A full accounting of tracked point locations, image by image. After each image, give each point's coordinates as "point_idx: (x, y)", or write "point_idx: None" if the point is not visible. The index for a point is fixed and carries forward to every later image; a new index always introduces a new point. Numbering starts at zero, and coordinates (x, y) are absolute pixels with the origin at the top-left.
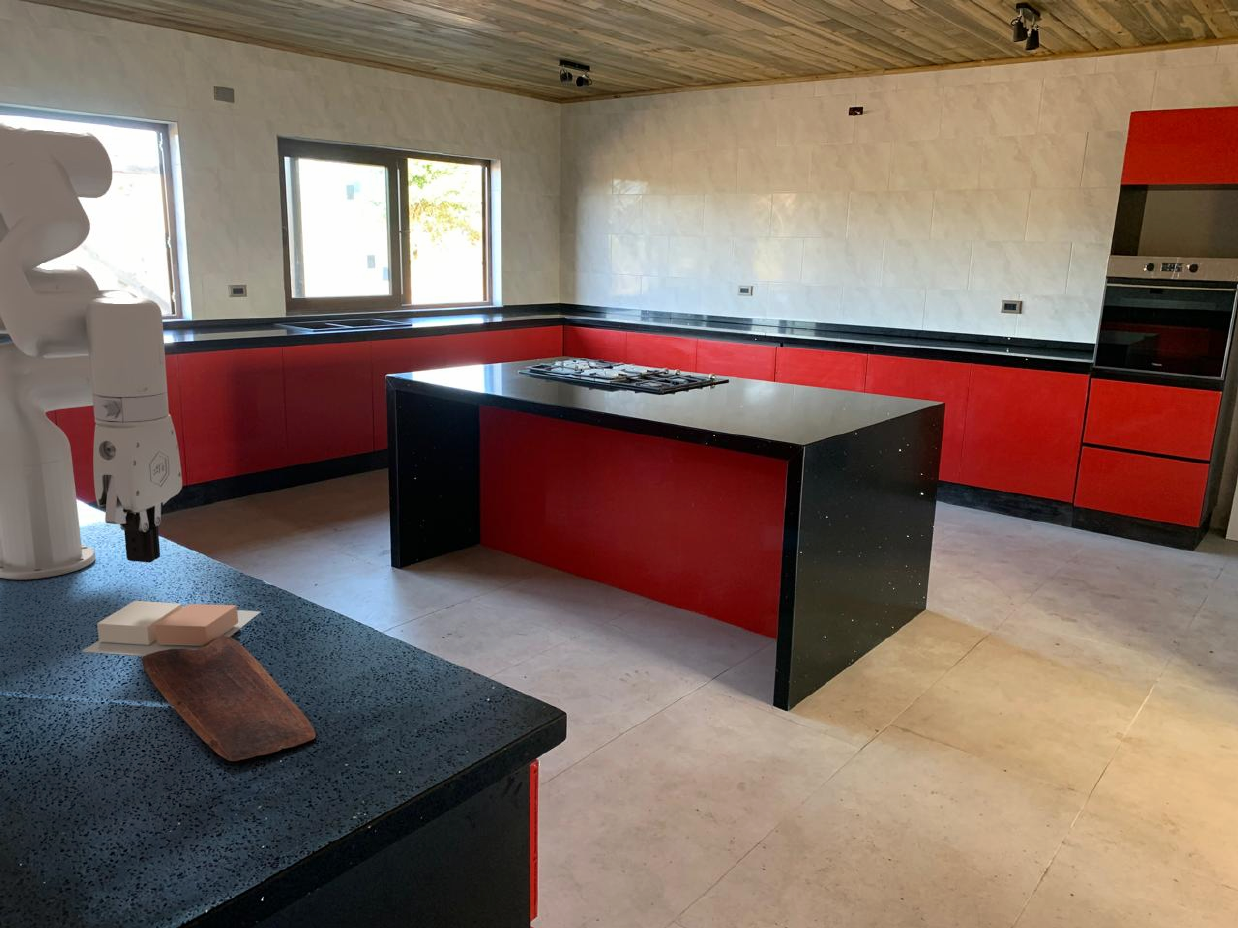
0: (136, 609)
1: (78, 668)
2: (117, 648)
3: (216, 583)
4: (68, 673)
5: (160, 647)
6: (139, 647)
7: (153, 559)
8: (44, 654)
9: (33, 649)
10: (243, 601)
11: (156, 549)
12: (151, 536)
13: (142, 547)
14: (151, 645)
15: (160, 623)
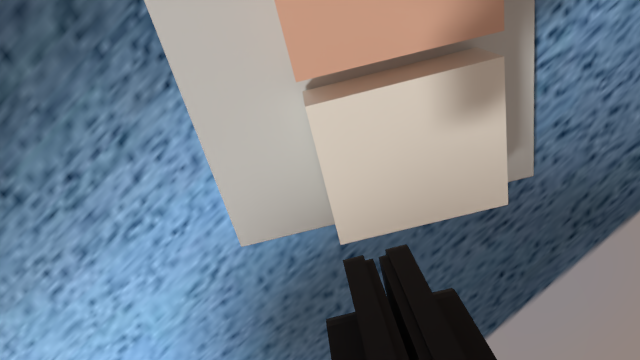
0: (393, 192)
1: (596, 119)
2: None
3: (24, 237)
4: (623, 117)
5: None
6: None
7: (397, 248)
8: (537, 238)
9: (518, 274)
10: (65, 60)
11: (371, 285)
12: (447, 340)
13: (456, 316)
14: (466, 45)
15: (488, 23)
